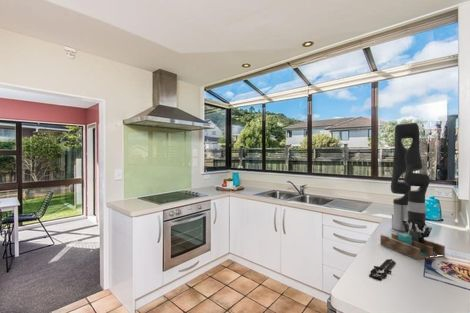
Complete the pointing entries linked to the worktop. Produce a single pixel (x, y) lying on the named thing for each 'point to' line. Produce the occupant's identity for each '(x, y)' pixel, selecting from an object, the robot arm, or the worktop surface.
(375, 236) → the worktop surface
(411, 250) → the wooden bookshelf
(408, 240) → the teal plug
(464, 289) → the worktop surface
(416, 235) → the charcoal plug
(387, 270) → the black bumpy piece
